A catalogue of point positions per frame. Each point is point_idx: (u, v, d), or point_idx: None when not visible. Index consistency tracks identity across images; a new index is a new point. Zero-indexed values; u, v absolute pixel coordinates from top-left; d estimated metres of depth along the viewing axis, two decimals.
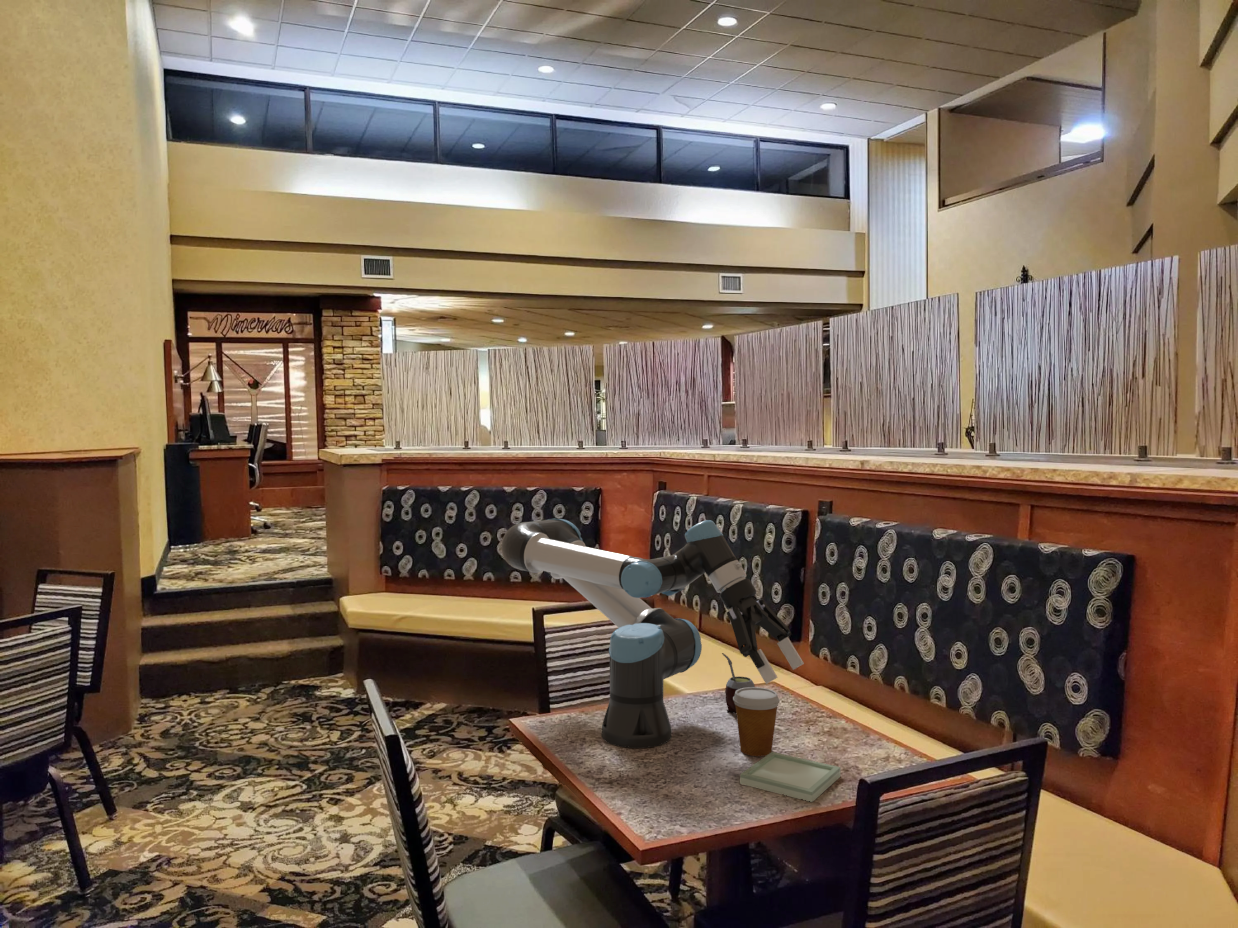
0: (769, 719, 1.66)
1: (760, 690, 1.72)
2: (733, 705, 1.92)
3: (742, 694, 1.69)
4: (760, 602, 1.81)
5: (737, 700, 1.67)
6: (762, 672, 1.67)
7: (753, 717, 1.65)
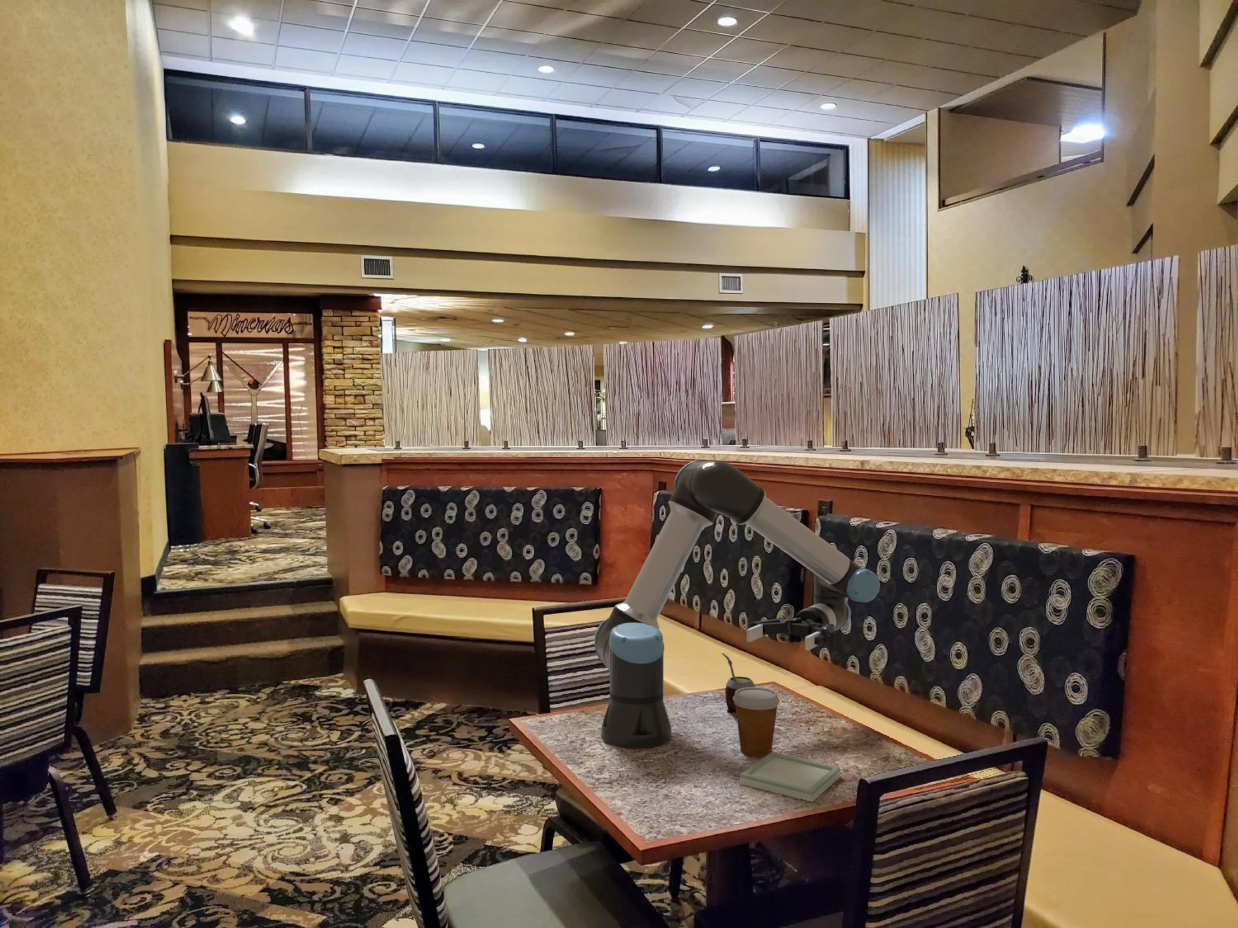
0: (769, 719, 1.66)
1: (760, 690, 1.72)
2: (733, 705, 1.92)
3: (742, 694, 1.69)
4: None
5: (737, 700, 1.67)
6: (812, 638, 1.75)
7: (753, 717, 1.65)
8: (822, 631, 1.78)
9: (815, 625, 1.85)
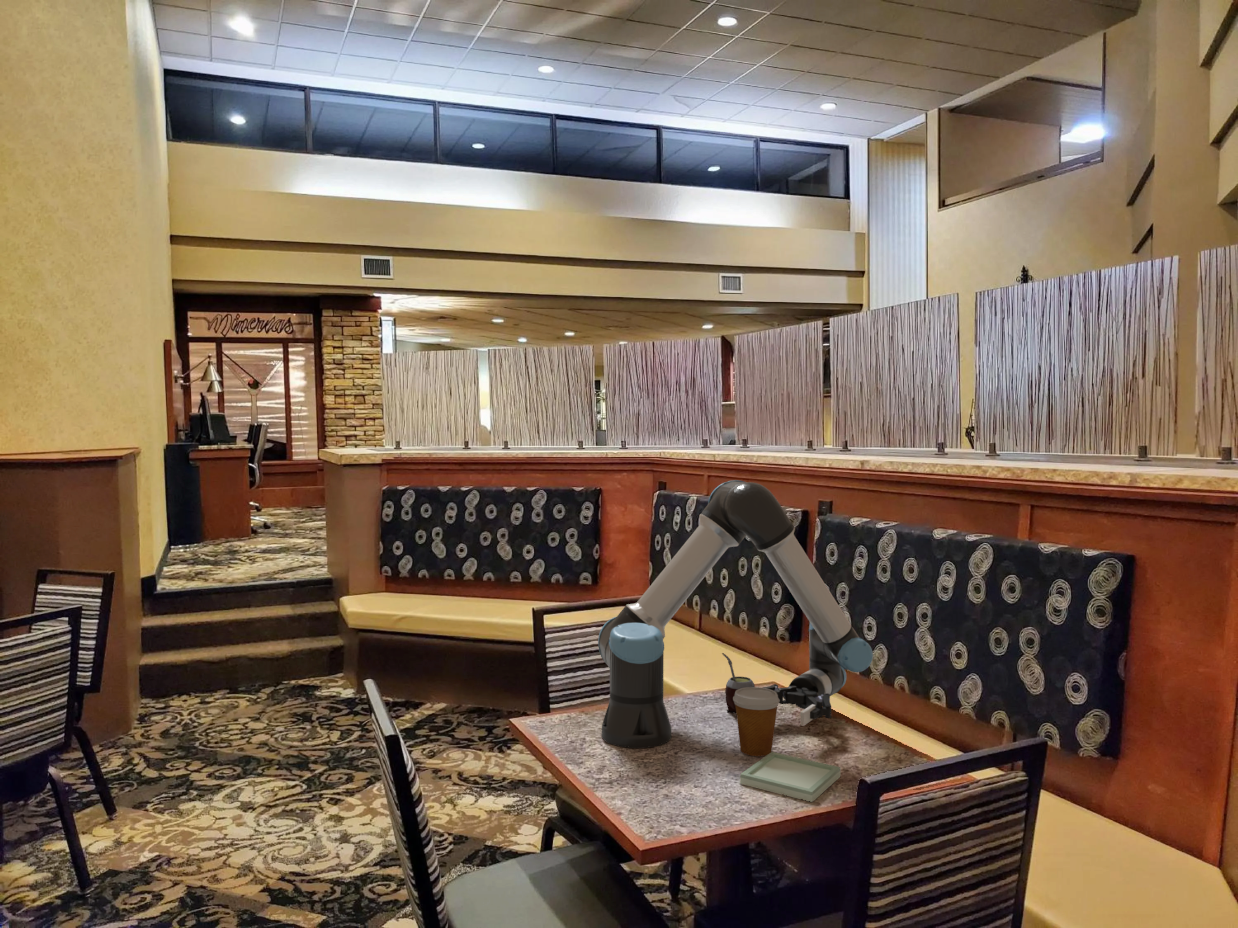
0: (769, 719, 1.66)
1: (760, 690, 1.72)
2: (733, 705, 1.92)
3: (742, 694, 1.69)
4: None
5: (737, 700, 1.67)
6: (808, 713, 1.72)
7: (753, 717, 1.65)
8: (818, 704, 1.75)
9: (810, 695, 1.82)
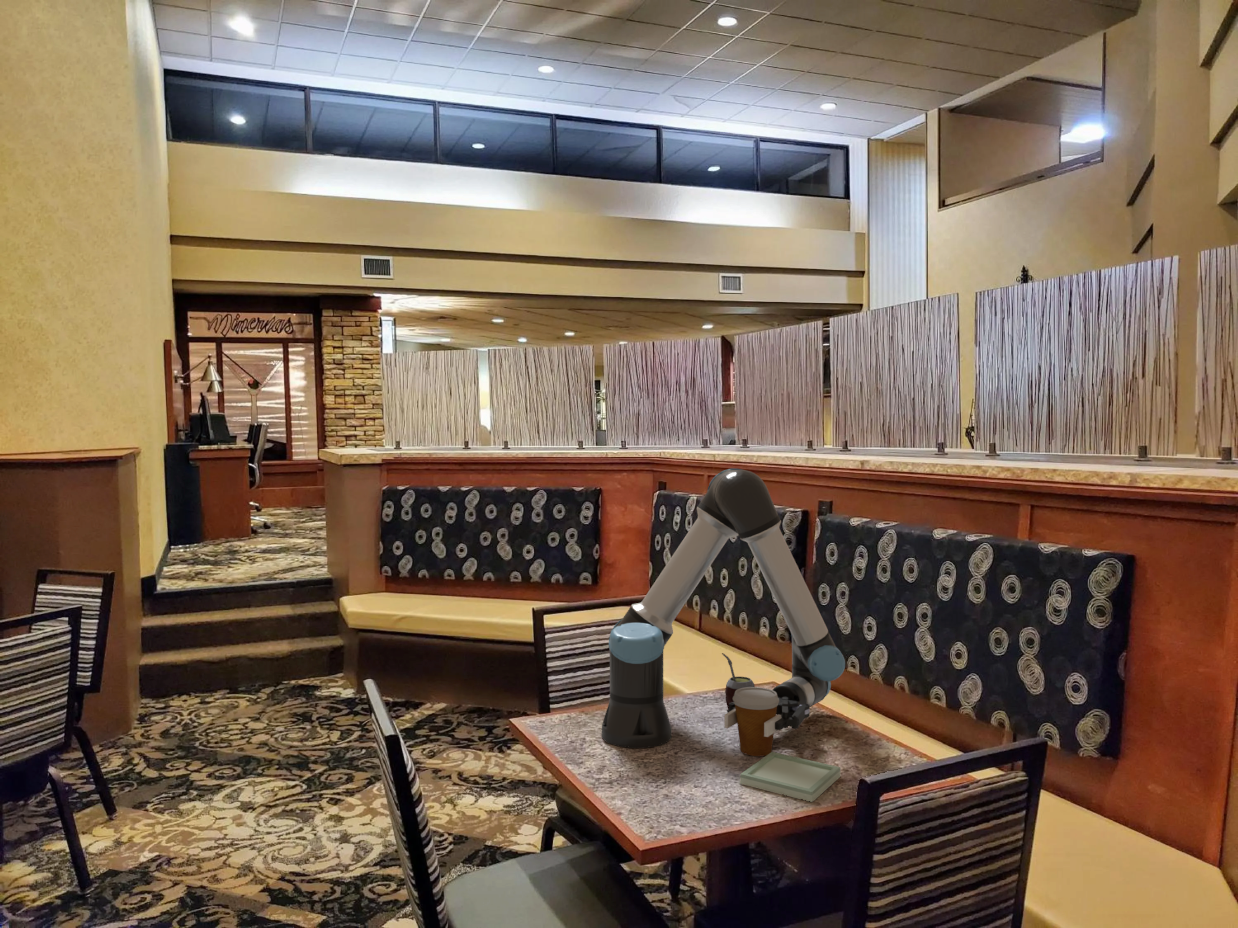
0: (769, 719, 1.66)
1: (760, 690, 1.72)
2: None
3: (741, 694, 1.69)
4: None
5: (737, 700, 1.67)
6: (772, 723, 1.64)
7: (752, 717, 1.65)
8: (783, 714, 1.68)
9: (786, 705, 1.74)
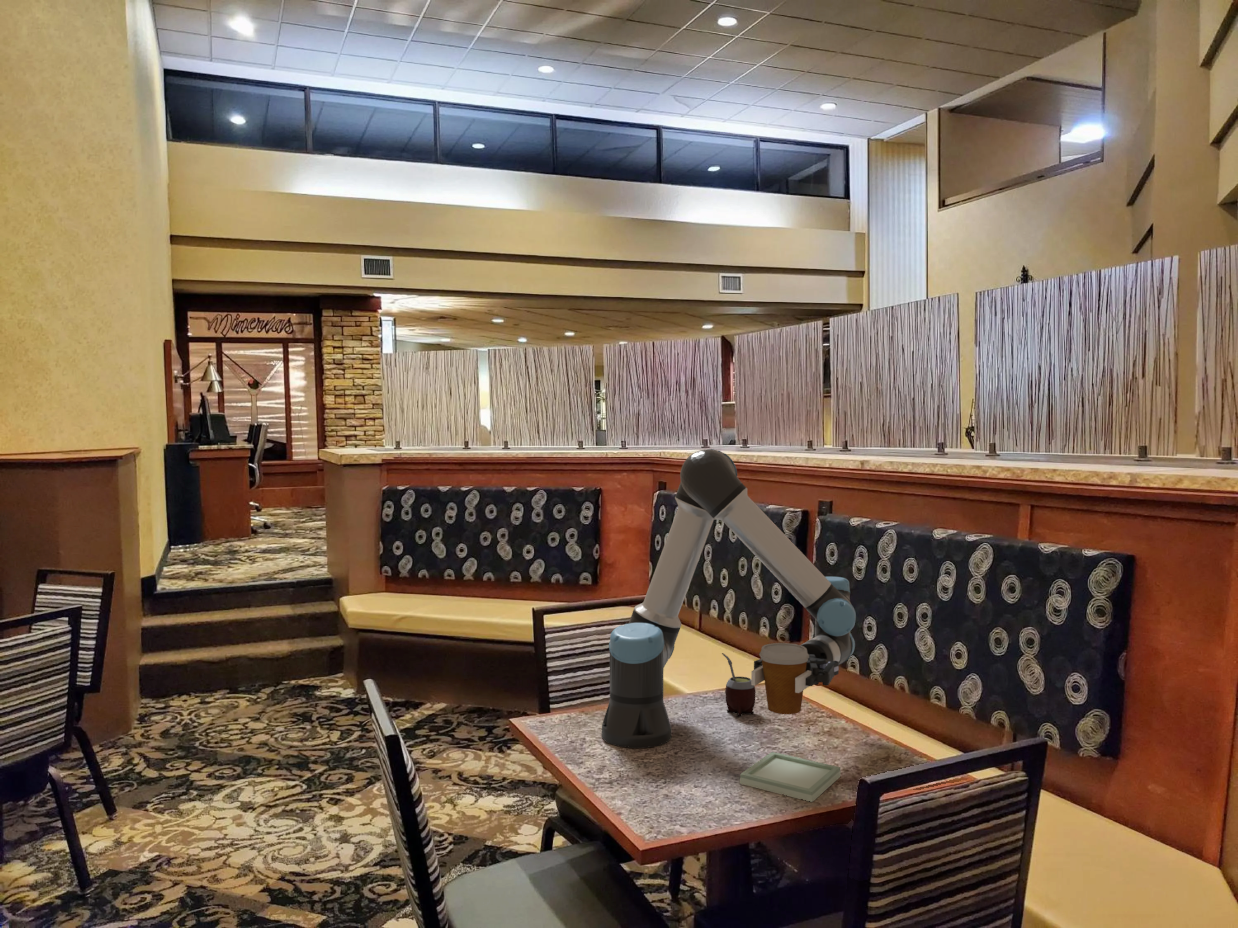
0: (799, 674, 1.56)
1: (787, 646, 1.63)
2: (733, 705, 1.92)
3: (769, 649, 1.60)
4: None
5: (765, 655, 1.58)
6: (803, 679, 1.55)
7: (782, 672, 1.56)
8: (813, 670, 1.58)
9: (814, 662, 1.65)
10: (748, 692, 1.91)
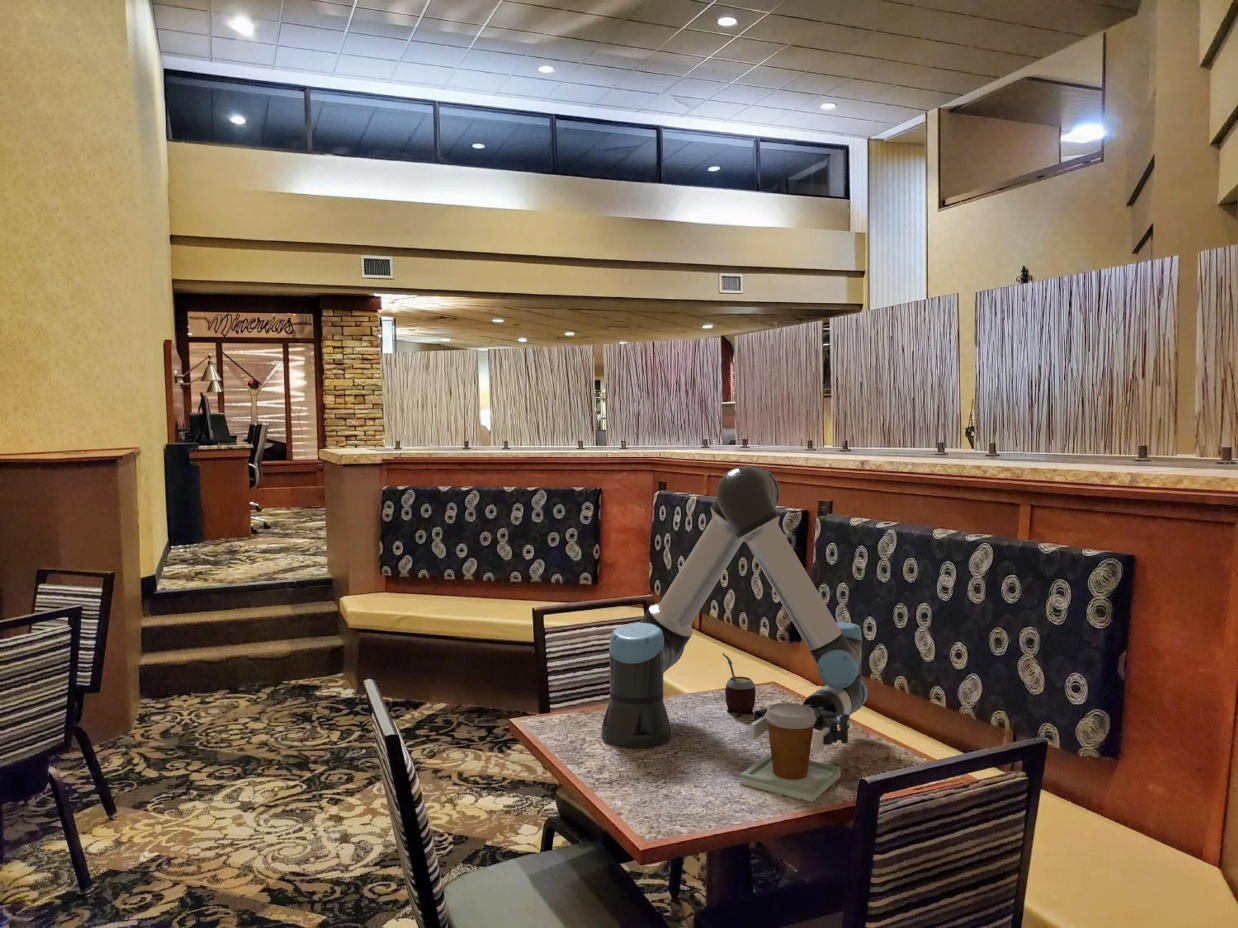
0: (805, 739, 1.51)
1: (794, 706, 1.57)
2: (733, 705, 1.92)
3: (775, 711, 1.54)
4: None
5: (770, 717, 1.52)
6: (821, 738, 1.49)
7: (787, 736, 1.50)
8: (832, 727, 1.52)
9: (826, 716, 1.59)
10: (748, 692, 1.91)
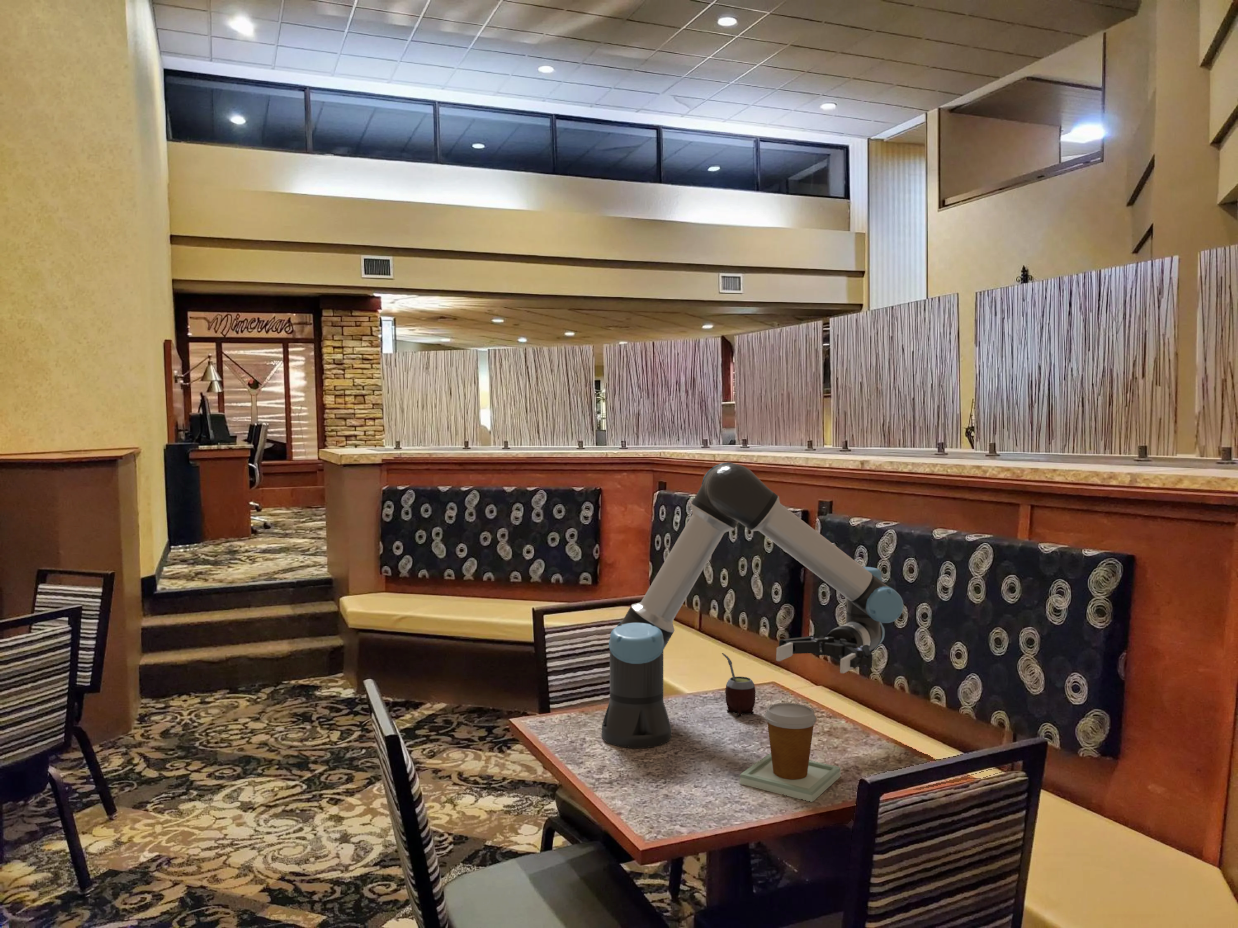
0: (805, 738, 1.51)
1: (794, 706, 1.57)
2: (733, 705, 1.92)
3: (775, 711, 1.54)
4: None
5: (770, 718, 1.53)
6: (848, 660, 1.63)
7: (787, 736, 1.51)
8: (858, 653, 1.66)
9: (849, 646, 1.72)
10: (748, 692, 1.91)
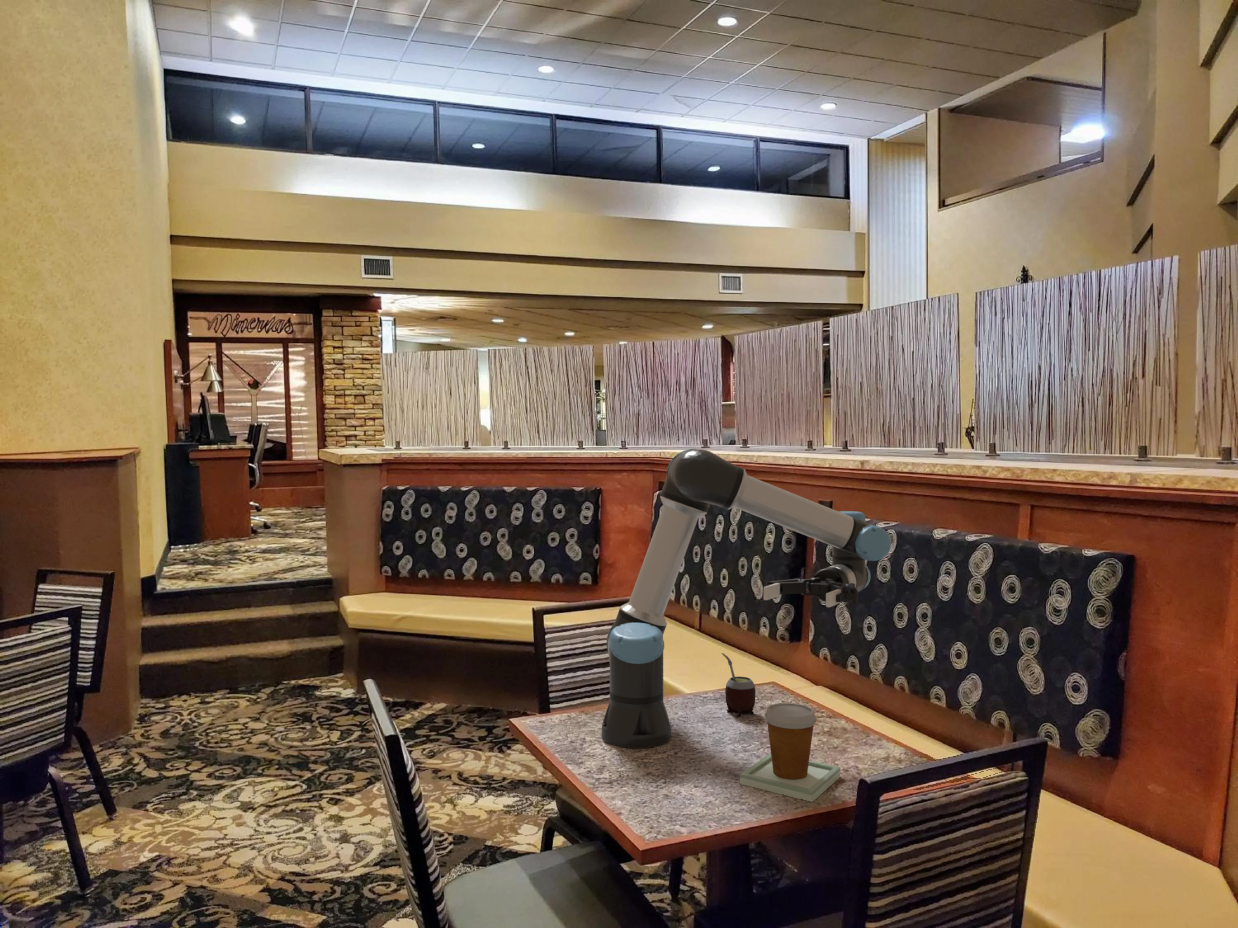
0: (805, 738, 1.51)
1: (794, 706, 1.57)
2: (733, 705, 1.92)
3: (775, 711, 1.54)
4: None
5: (770, 718, 1.53)
6: (833, 595, 1.66)
7: (787, 736, 1.51)
8: (843, 588, 1.69)
9: (835, 584, 1.76)
10: (748, 692, 1.91)
